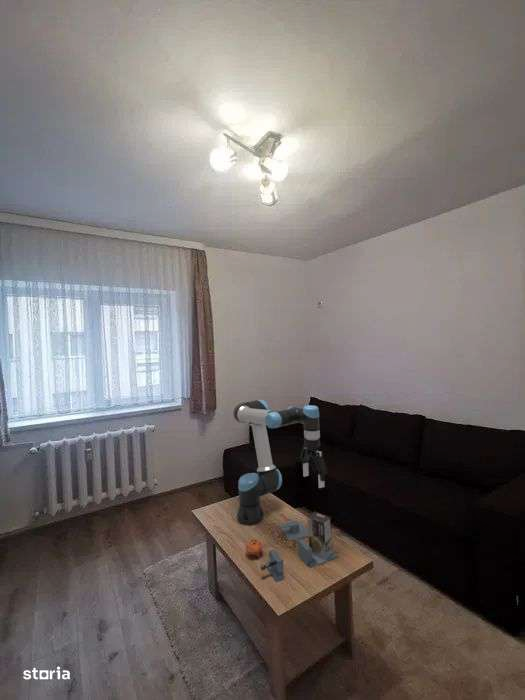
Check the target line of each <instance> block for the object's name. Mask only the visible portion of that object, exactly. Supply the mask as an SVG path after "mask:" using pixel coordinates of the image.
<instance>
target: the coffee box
mask: <svg viewBox="0 0 525 700" xmlns="http://www.w3.org/2000/svg"><path fill="white" fill-rule="evenodd" d="M307 529H308V533H309V537H308V545H309V546H310V547H311V548H312V553H314V554H316V555H318V556H320V557H322V558H324V559H327V558H328V557H329V556H330V555H331V554H332V553H333V551H334V548H333V532H332V517H331V516H329V515H325V514H324V513H320V512H317V511H313V512H312V513H311V514H310V515H309V516H307Z"/></svg>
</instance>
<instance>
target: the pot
mask: <svg viewBox="0 0 525 700" xmlns="http://www.w3.org/2000/svg"><path fill="white" fill-rule="evenodd" d="M263 548H264V546H263V542H261V541H260V540H259V539H257V538H252V539H251V540H250V541H249V542H247V544H246V545H245V550H246V552H247V555H248V556H250V555H251V556H255V555H256V556H257V558H259V557H260V553H261V552H262V550H263Z"/></svg>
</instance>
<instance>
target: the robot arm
mask: <svg viewBox="0 0 525 700" xmlns="http://www.w3.org/2000/svg"><path fill="white" fill-rule="evenodd" d="M232 414H233V418H234V419H235V421H236V422H239V423H241V424H246V423H248V425H249V426H250V427H251V428H252V429H251V430H252V435H253V441H254V447H255V452H256V453H255V454H256V459H257V465H258V467H257V469H256V472H251V473H250V472H248V473H245V474H243V475H241V476H240V477H239V480H238V486H237V487H238V499H239V506H238V509H237V514H236V519H237V523H239V524H241V525H244V526H253V525H257V524H259V523H261V522H262V521H263V520H264V518H265V513H264V511H263V507H262V505H261V498H260V497H262V496H263V497H264V496H265V495H268V494H271V493H275V492H276V491H278V490H279V489H280V488H281V487H282V483H283V476H282V473H281V472H280V470H279V469H278V468H277V467H276V465H275V464H273V458H272V453H271V446H270V441H269V436H268V429H277V428H282V427H284V426H289V425H293V424H297V423H298V424H302V425H303V435H304V436H303V438H304V440H303V443H304V444H302V449H301V454H300V457H299V460H300V461H301V462H302V473H303V474H302V475H303V477H304V478H305V477H308V476H310V475H309V473H310V472H309V460H310V458H311V459H312V460H313V461H314V463H315V466H316V468H317V470H318V473H317V477H318V479H317V480H318V488H319V489H321V488H325V481H326V480H325V475H327V474H328V469H327V466H326V462H325V458H324V453H323V451H322V450H321V451H319V447H321V439H320V438H321V433H320V432H321V431H320V410H319V407H318V406H317V405H304V406H303V407H300V406H299V407H298V406H296V405H295V406H292V405H291V406H289V407H288V408H286V409H282V410H272V409H270V407H269V404H268V403H267V402H266V401H265V400H262V399H256V400H251V401H246V402H241V403H238V404H237V405H236V406H235V407H234V409H233V412H232ZM267 428H268V429H267Z"/></svg>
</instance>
